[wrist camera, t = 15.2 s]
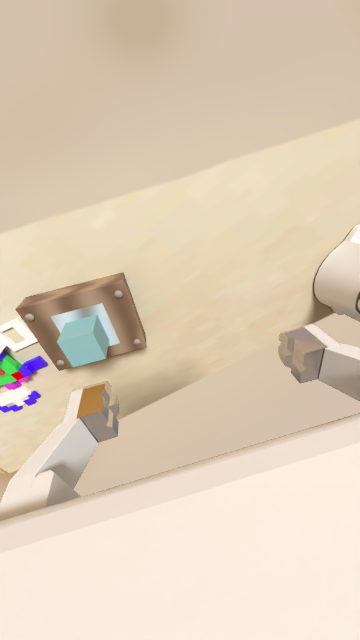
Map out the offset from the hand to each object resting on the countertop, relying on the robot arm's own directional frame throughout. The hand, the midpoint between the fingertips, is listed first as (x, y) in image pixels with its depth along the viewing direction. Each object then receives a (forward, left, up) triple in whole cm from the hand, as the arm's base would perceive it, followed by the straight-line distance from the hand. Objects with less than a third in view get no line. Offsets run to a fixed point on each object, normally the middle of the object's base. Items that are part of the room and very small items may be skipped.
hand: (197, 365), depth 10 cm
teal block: (+14, +11, -25) cm, 30 cm away
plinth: (+14, +11, -29) cm, 34 cm away
